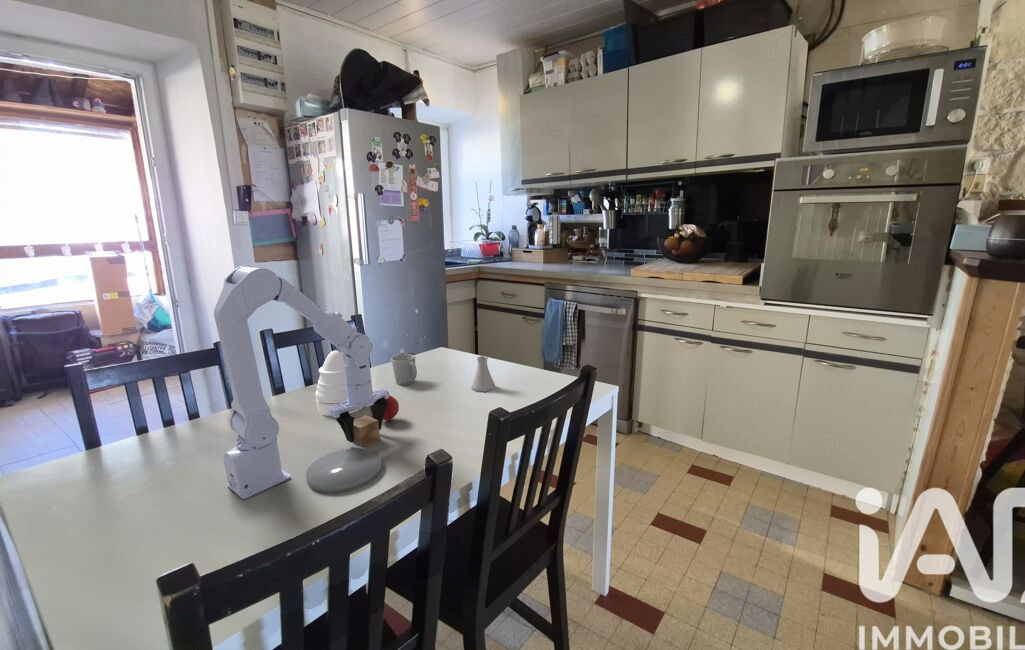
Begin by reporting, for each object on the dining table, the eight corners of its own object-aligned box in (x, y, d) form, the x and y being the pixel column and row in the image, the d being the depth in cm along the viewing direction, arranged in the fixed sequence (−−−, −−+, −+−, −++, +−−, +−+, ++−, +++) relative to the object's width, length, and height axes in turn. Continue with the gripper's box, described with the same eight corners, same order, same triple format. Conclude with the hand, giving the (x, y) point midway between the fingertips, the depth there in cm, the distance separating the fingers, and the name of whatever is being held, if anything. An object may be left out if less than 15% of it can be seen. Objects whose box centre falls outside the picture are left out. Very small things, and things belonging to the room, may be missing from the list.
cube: (362, 447, 108) (359, 428, 107) (349, 441, 111) (347, 422, 110) (379, 439, 112) (378, 420, 111) (367, 433, 115) (365, 415, 114)
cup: (408, 376, 154) (406, 352, 152) (426, 383, 148) (424, 358, 146) (388, 383, 149) (386, 357, 147) (406, 390, 142) (404, 364, 140)
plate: (332, 502, 88) (331, 495, 87) (293, 476, 97) (292, 469, 96) (396, 467, 99) (395, 461, 99) (355, 447, 108) (355, 441, 108)
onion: (393, 426, 118) (391, 397, 116) (373, 425, 119) (370, 396, 118) (403, 416, 124) (401, 389, 122) (383, 415, 125) (381, 387, 123)
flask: (481, 382, 148) (480, 352, 145) (499, 386, 144) (498, 356, 141) (466, 389, 142) (465, 358, 140) (485, 394, 138) (483, 362, 136)
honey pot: (364, 395, 139) (358, 338, 135) (365, 411, 128) (358, 349, 123) (319, 401, 136) (311, 342, 131) (315, 419, 124) (307, 355, 119)
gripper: (340, 395, 100) (347, 451, 103) (394, 376, 111) (399, 427, 114) (322, 388, 104) (329, 442, 108) (376, 370, 115) (381, 420, 119)
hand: (364, 434), depth 111 cm, fingers open, 7 cm apart
